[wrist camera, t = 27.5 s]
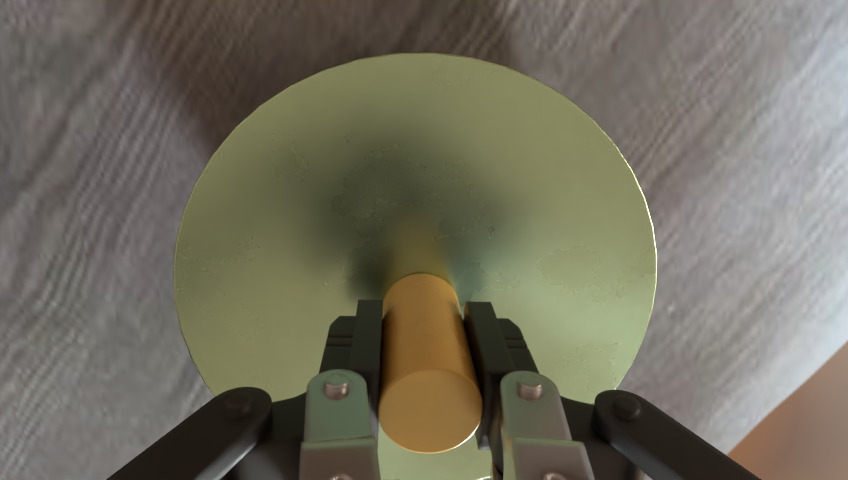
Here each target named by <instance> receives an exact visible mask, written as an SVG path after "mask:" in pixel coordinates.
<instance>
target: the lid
mask: <svg viewBox="0 0 848 480" xmlns="http://www.w3.org/2000/svg"><path fill="white" fill-rule="evenodd" d="M173 278H174V293H175V305H176V309H177V314H178V318H179V323H180V328H181V332H182V334H183V337H184V340H185V342H186V345H187V348H188V351H189V353H190V356H191V358H192V360H193V362H194V364H195V366H196V367H197V369H198V371H199V373H200V375H201V377H202V379H203V380H204V382H205V384H206V385H207V386H208V388H209V389H210V390H211V392H212V393H213V395H214V396H215V397H216V396H217V395H219V394H221V393H223V392H225V391H227V390H230V389H234V388H238V387H256V388H260V389H262V390H264V391H266V392H267V393H268V394H269V395H270V397H271V399H272V402H276V401H280V400H285V399H289V398H293V397H296V396H299V395H301V394H303V393H304V392H306V389H307V385H308V383H309V381H310V380H311V379H312V378H313V377H314V376H316V375H318V374H319V369H320V365H321V361H322V357H323V353H324V348H325V345H326V340H327V337H328V332H329V327H330V325H331V324H332V323H333V322H334V321H335V320H336V319H337V318H338V317H339V316H356V312H357V305H358V300H359V299H360V300H383V323H382V343H381V363H380V383H379V403H378V419H379V433H378V450H377V452H378V460H379V468H380V475H381V480H481V479H484V478H488V477H490V469H491V460H492V454H491V450H478V446H477V441H476V436H475V431H476V429H477V428H478V426H479V424H480V421H481V419H482V415H483V400H482V395H481V391H480V387H479V383H478V379H477V375H476V371H475V367H474V363H473V359H472V355H471V351H470V347H469V343H468V338H467V334H466V330H465V326H464V322H463V318H464V307H465V303H466V301H473V302H491V304H492V306H493V309H494V312H495V314H496V317H497V318H509V319H510V320H511V321H512V322H513V323H515V324H516V325H517V326H518V327H519V328H520V330H521V332H522V335H523V337H524V340H525V341H526V344H527V346H528V349H529V351H530V353H531V355H532V357H533V360H534V362H535V364H536V367H537V369H538V371H539V373H540V374H541V375H544V376H546V377H547V378H549V379H550V380H552V381H553V382H554V383H555V385H556V386H557V388H558V390H559V394H560V396H563V397H565V398H568V399H571V400H575V401H579V402H584V403H589V404H593V405H594V401H595V398H596V396H597V395H598V394H599V393H601V392H603V391H606V390H615V389H616V388H617V387H618V385H619V384H620V382H621V381H622V379H623V377H624V376H625V374H626V372H627V371H628V369H629V368H630V366H631V364H632V363H633V361H634V359H635V356H636V354H637V352H638V350H639V347H640V345H641V343H642V341H643V339H644V336H645V333H646V329H647V326H648V323H649V319H650V316H651V313H652V308H653V302H654V296H655V289H656V280H657V252H656V245H655V237H654V230H653V224H652V221H651V217H650V214H649V210H648V207H647V203H646V200H645V197H644V194H643V192H642V190H641V188H640V186H639V183H638V181H637V179H636V177H635V175H634V173H633V170H632V169H631V167H630V166H629V164H628V162H627V161H626V159H625V158H624V156H623V155H622V153H621V152H620V150H619V149H618V147H617V146H616V144H615V143H614V142H613V141H612V139H611V138H610V137H609V136H608V135H607V134H606V133H605V132H604V131H603V129H602V128H601V127H600V126H599V125H598V124H597V123H596V122H595V120H594V119H593V118H591V117H590V116H589V115H588V114H587V113H585V112H584V111H583V110H582V109H581V108H579V107H578V106H577V105H576V104H574V103H573V102H572V101H571V100H570V99H568V98H567V97H566V96H564V95H562V94H561V93H559V92H557V91H556V90H554V89H552V88H551V87H549V86H547V85H546V84H544V83H542V82H541V81H539V80H537V79H535V78H533V77H530V76H528V75H526V74H523V73H521V72H519V71H516V70H514V69H511V68H509V67H507V66H504V65H500V64H496V63H493V62H489V61H485V60H481V59H478V58H474V57H470V56H462V55H453V54H445V53H436V52H409V53H391V54H385V55H379V56H373V57H367V58H361V59H357V60H354V61H351V62H347V63H344V64H341V65H338V66H334V67H331V68H328V69H325V70H322V71H320V72H318V73H316V74H314V75H312V76H309V77H307V78H305V79H303V80H301V81H299V82H297V83H295V84H293V85H290V86H289V87H287V88H286V89H284V90H283V91H281V92H280V93H278V94H277V95H275V96H274V97H272V98H271V99H269V100H268V101H266V102H265V103H263V104H262V105H260V106H259V107H258V108H257V109H256V110H255V111H253V112H252V113H251V114H250V115H249V116H248V117H247V118H246V119H245V120H243V121H242V122H241V123H240V124H239V125H238V126H237V127H236V128H234V130H233V131H232V132H231V133H230V134H229V136H228V137H227V138H226V139H225V140H224V142H223V143H222V144H221V145H220V146H219V148H218V149H217V150H216V151H215V152H214V154H213V155H212V156H211V158H210V160H209V161H208V163H207V165H206V166H205V168H204V170H203V171H202V173H201V175H200V176H199V178H198V180H197V181H196V183H195V185H194V188H193V190H192V192H191V195H190V197H189V200H188V202H187V205H186V207H185V209H184V212H183V215H182V219H181V224H180V228H179V232H178V236H177V240H176V246H175V258H174V270H173Z"/></svg>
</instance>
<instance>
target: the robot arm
mask: <svg viewBox="0 0 848 480" xmlns="http://www.w3.org/2000/svg"><path fill="white" fill-rule="evenodd" d="M463 322H464V326H465V330H466V334H467V338H468V343H469V347H470V351H471V355H472V359H473V363H474V367H475V371H476V375H477V379H478V383H479V387H480V391H481V395H482V400H483V415H482V419H481V421H480V424H479V426H478V428H477V429H476V431H475V436H476V441H477V446H478V450H491V454H492V460H491V469H490V480H643V478H644V474H645V473H646V474H647V475H648V476H649V477H650V478H652V479H653V480H761V479H759V478H758V477H757V476H755V475H754V474H752V473H751V472H749V471H748V470H746V469H745V468H744V467H742V466H741V465H739V464H738V463H736V462H735V461H733V460H732V459H730V458H729V457H728V456H726V455H725V454H723V453H722V452H720V451H719V450H718V449H716V448H715V447H713V446H712V445H710V444H709V443H707V442H706V441H704V440H703V439H702V438H700V437H699V436H697V435H696V434H694V433H693V432H691V431H690V430H689V429H687V428H686V427H684V426H683V425H681V424H680V423H678V422H677V421H676V420H674V419H673V418H671V417H670V416H668V415H667V414H665V413H664V412H662V411H661V410H660V409H658V408H657V407H655V406H654V405H652V404H651V403H649V402H648V401H647V400H645V399H643V398H642V397H640V396H638V395H636V394H633V393H630V392H627V391H622V390H606V391H603V392H601V393H599V394H598V395H597V396H596V398H595V401H594V405H593V404H589V403H584V402H579V401H575V400H571V399H568V398H565V397H563V396H560V394H559V390H558V388H557V386H556V385H555V383H554V382H553V381H552V380H550V379H549V378H547V377H546V376H544V375H541V374H540V373H539V371H538V369H537V367H536V364H535V362H534V360H533V357H532V355H531V353H530V351H529V349H528V346H527V344H526V341H525V340H524V337H523V335H522V332H521V330H520V328H519V327H518V326H517V325H516V324H515V323H513V322H512V321H511V320H510V319H509V318H497V317H496V314H495V312H494V309H493V306H492V304H491V302H473V301H466V303H465V307H464V318H463ZM382 323H383V300H360V299H359V300H358V305H357V312H356V316H339V317H338V318H337V319H336V320H335V321H334V322H333V323H332V324H331V325H330V327H329V332H328V337H327V340H326V345H325V348H324V353H323V357H322V361H321V365H320V369H319V374H318V375H316V376H314V377H313V378H312V379H311V380H310V381H309V383H308V385H307V389H306V392H304V393H303V394H301V395H299V396H296V397H293V398H289V399H285V400H280V401H276V402H272V399H271V397H270V395H269V394H268V393H267V392H266V391H264V390H262V389H260V388H256V387H238V388H234V389H230V390H227V391H225V392H223V393H221V394H219V395H217V396H216V397H214V398H213V399H212V400H210V401H209V402H208V403H206V404H205V405H204V406H203V407H201V408H200V409H199V410H197V411H196V412H195V413H193V414H192V415H191V416H189V417H188V418H187V419H185V420H184V421H183V422H181V423H180V424H179V425H178V426H176V427H175V428H174V429H172V430H171V431H170V432H168V433H167V434H166V435H164V436H163V437H162V438H160V439H159V440H158V441H156V442H155V443H154V444H153V445H151V446H150V447H149V448H147V449H146V450H145V451H143V452H142V453H141V454H139V455H138V456H137V457H135V458H134V459H133V460H131V461H130V462H129V463H128V464H126V465H125V466H124V467H122V468H121V469H120V470H118V471H117V472H116V473H114V474H113V475H112V476H110V477H109V478H108V479H106V480H381V475H380V468H379V460H378V452H377V450H378V433H379V419H378V403H379V383H380V363H381V343H382Z"/></svg>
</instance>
